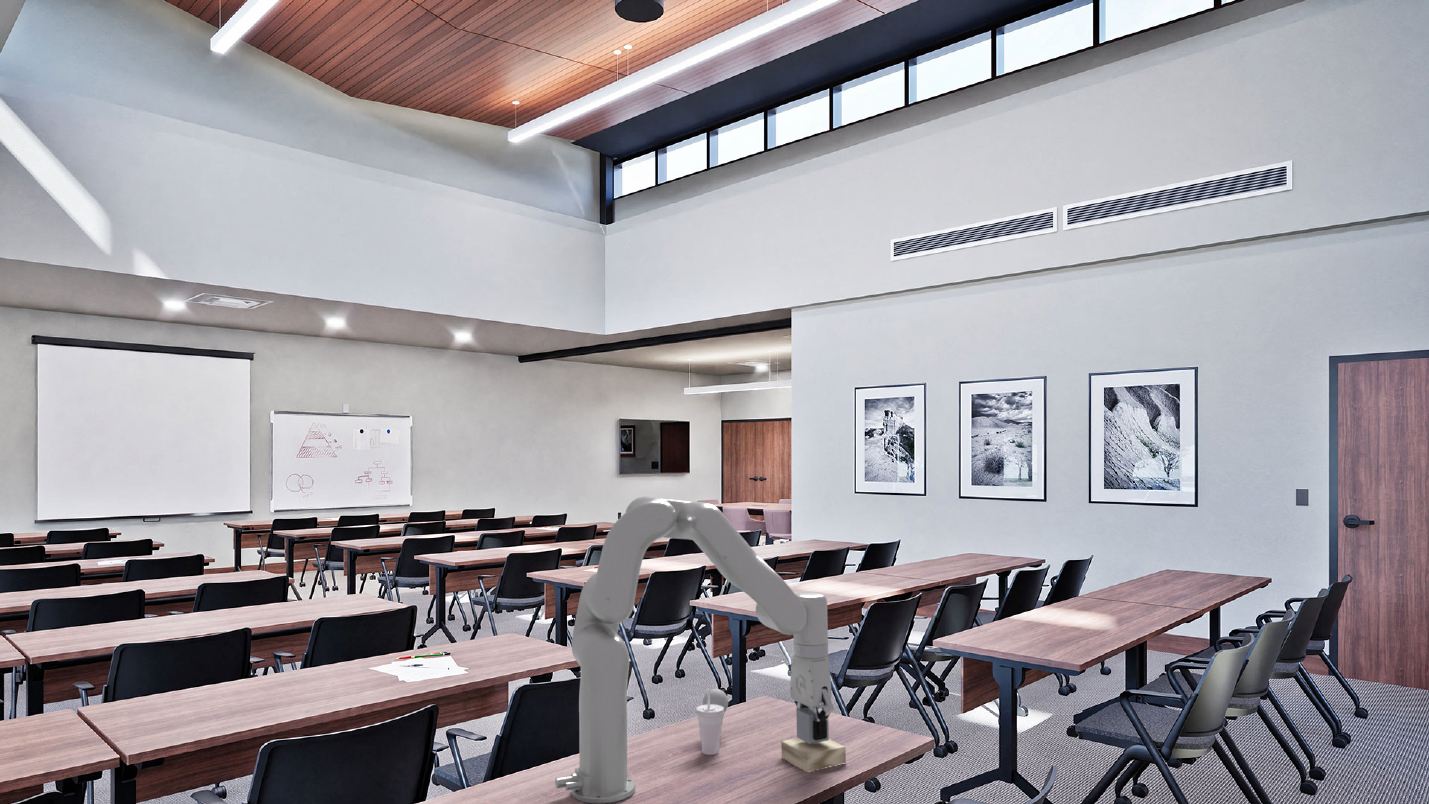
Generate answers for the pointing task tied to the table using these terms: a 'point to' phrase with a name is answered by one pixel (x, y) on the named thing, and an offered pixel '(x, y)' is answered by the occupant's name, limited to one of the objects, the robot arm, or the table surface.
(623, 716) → the robot arm
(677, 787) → the table surface
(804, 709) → the grey block
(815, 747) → the maple block
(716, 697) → the lightbulb
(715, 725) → the smoothie
